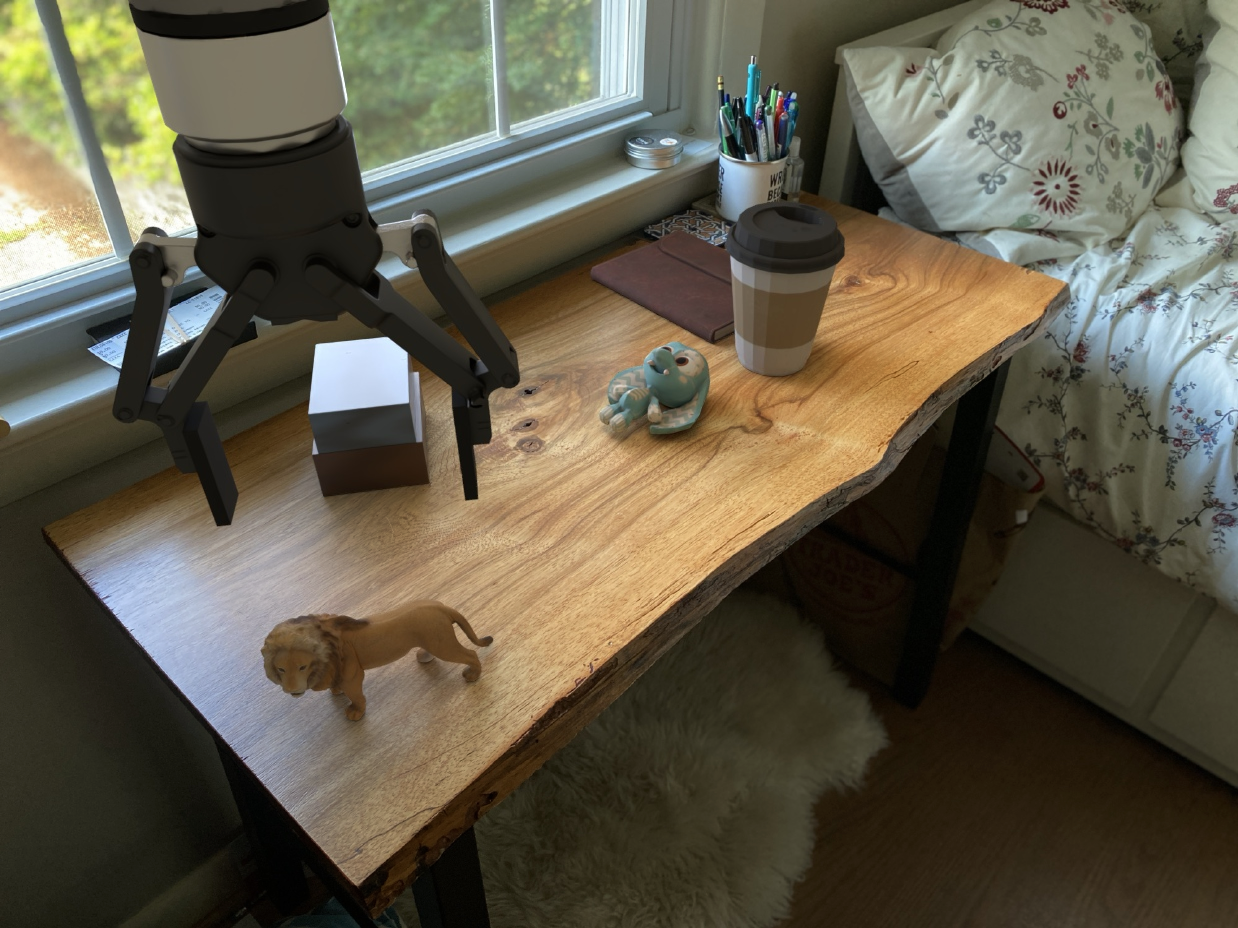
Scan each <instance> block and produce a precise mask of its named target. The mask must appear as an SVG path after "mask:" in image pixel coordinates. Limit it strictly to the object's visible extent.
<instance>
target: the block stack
mask: <svg viewBox="0 0 1238 928" xmlns="http://www.w3.org/2000/svg"><path fill="white" fill-rule="evenodd" d="M312 367H313V368H312V376H311V383H310V384H311V385H310V393H309V395H310V396H309V402H308V403H309V404H308V411H307V412H308V413H307V416H308V420H309V423H310V428H311V432H312V435H313V440H312V441H313V442H312V450H311V456H312V461H313V464H314V468H315V472H316V476H317V479H318V483H319V486H320V489H321V494H322V497H328V496H329V497H330V496H338V495H344V494H353V493H360V492H368V491H377V490H385V489H392V488H401V487H407V486H408V487H409V486H415V485H416V486H417V485H424V484H425V485H426V484H429V483H430V465H429V447H428V433H427V431H428V430H427V417H426V413H427V412H426V407H425V406H426V405H425V401H424V400H425V399H424V394H423V388H422V384H421V376H420V372H419V371H414V368H413V367H414V366H413V362H412V356H411V355H410V354H408V353H407V352H406V351H405V350H403V349H402V348H401V347H399V346H398V345H397V344H396V343H394V342H393V341H392V340H390V339H389V338H388V337H387V336H384V337H375V338H364V339H355V340H347V341H346V340H345V341H334V342H326V343H317V344H315V349H314V357H313V365H312Z"/></svg>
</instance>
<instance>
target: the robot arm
mask: <svg viewBox="0 0 1238 928" xmlns="http://www.w3.org/2000/svg"><path fill="white" fill-rule="evenodd" d="M127 1H128V7H129V12H130V14H131V18H132V23H133V24H134V26H135V30H136V33H137V36H138V40H139V43H140V47H141V50H142V53H143V57H144V60H145V64H146V67H147V71H148V73H149V78H150V80H151V84H152V87H153V90H154V94H155V97H156V101H157V104H158V108H159V111H160V115H161V118H162V121H163V123H164V126H166V127H167V128H168V129H170V130H171V131H172V132H174V133H175V134H176V137H175V139H174V141H173V143H172V147H171V150H172V153H173V155H174V159H175V163H176V165H177V166H176V167H177V169H178V172H179V176H180V179H181V182H182V185H183V189H184V192H185V196H186V198H187V202H188V205H189V209H190V212H191V215H192V218H193V221H194V225H195V226H196V237H183V236H181V237H180V236H169V235H168V233H167V232H166V231H165V230H164V229H163V228H161V227H158V226H153V225H152V226H147V227H146V228H144V229H143V230H142V232H141V234H140V236H139V237H138V238H137V240H136V243H135V244H134V246H133V248H132V249H131V251H130V253H129V254H128V255H129V256H128V264H129V268H130V272H131V277H132V282H133V285H134V289H135V294H136V296H135V300H134V305H133V309H132V314H131V318H130V323H129V328H128V334H127V337H126V342H125V348H124V353H123V358H122V362H121V366H120V370H119V371H120V372H119V376H118V381H117V385H116V391H115V395H114V400H113V403H112V410H111V413H112V416H113V418H114V419H115V420H117V421H118V422H120V423H122V424H133V423H135V422H136V421H138V420H141V421H144V422H145V421H147V422H151V423H153V424H155V425H156V426H157V427H158V428H160V429H161V431H162V433H163V436H164V439H165V441H166V444H167V446H168V449H169V451H170V454H171V456H172V458H173V462H174V464H175V467H176V468H177V469H178V470H179V471H180V472H181V473H182V474H183V475H184V474H186V475H187V474H197V477H198V479H199V482H200V486H201V487H202V491H203V493H204V496H205V499H206V501H207V504H208V507H209V509H210V512H211V514H212V517H213V521H214V523H215V525H216V527H227V526H232V524H233V519H234V516H235V515H234V514H235V511H236V507H237V503H238V500H239V495H240V493H239V490H238V488H237V484H236V481H235V479H234V475H233V473H232V470H231V466H230V464H229V460H228V458H227V455H226V452H225V449H224V446H223V443H222V440H221V437H220V434H219V432H218V428H217V426H216V422H215V420H214V417H213V413H212V411H211V408H210V405H209V402H208V400H202V401H201V400H200V401H197V399H198V398H199V396H200V395H201V393H202V392H203V390H204V389H205V387H206V386H207V384H208V383H209V381H210V380H211V378H212V376H213V375H214V374H215V372H216V370H217V369H218V368H219V366H220V364H221V363H222V361H223V360H224V358H225V357H226V355H227V354H228V353H229V351H230V349H231V348H232V346H233V344H234V343H235V342H236V340H237V341H238V339H239V338H240V337H241V335H243V332H244V331H245V329H246V328H247V326H248V325H249V323H250V322H251V320H252V319H253V317H254V316H255V317H256V318H259V319H261V320H264V321H268V322H270V325H271V326H272V327H273V326H288V325H291V324H294V323H298V322H300V321H303V320H305V321H306V320H307V321H312V322H320V323H325V322H336V321H338V320H339V316H342V315H344V314H346V313H348V314H350V315H351V316H352V317H353V318H355V320H358V322H360V323H361V324H362V325H364V327H367V328H369V329H371V330H372V329H376V330H377V331H379V332H380V333H381V334H382V335H384V337H388V338H389V339H390V340H392V341H393V342H394V343H396V344H397V345H398V346H399V347H401V348H402V349H403V350H405V351H406V352H407V353H408V354H410V355H411V358H413V359H415V360H416V361H417V362H419V363H420V364H421V365H422V366H424V368H426V369H428V370H429V371H430V372H432V374H433V375H435V376H436V377H438V379H440V380H442V381H443V382H444V383H446V385H448V386H449V387H450V388H451V392H450V393H451V410H452V418H453V425H454V432H455V439H456V444H457V445H456V446H457V452H458V454H457V455H458V460H459V467H460V474H461V482H462V488H463V495H464V501H466V502H468V501H476V500H479V486H478V485H479V484H478V471H477V463H476V462H477V461H476V454H475V447H474V446H481V445H490V443H491V440H492V438H493V431H492V417H491V411H490V402H489V401H490V400H489V399H490V396H491V394H492V393H493V392H494V391H496V390H498V389H500V388H504V389H507V390H508V389H513V388H514V389H515V388H516V387H517V386H518V385H519V383H520V382H521V374H520V373H521V372H520V365H519V357H518V353H517V350H516V348H515V347H514V345H513V344H512V342H511V341H510V340H509V338H508V337H507V336H506V334H505V332H503V330H502V329H501V327H500V326H499V324H498V323H497V321H496V319H494V317H493V316H492V315H491V313H490V311H489V310H488V308H487V307H486V305H485V304H484V303H483V301H482V300H481V299H480V297H479V296H478V295H477V293H476V292H475V290H474V289H473V287H472V286H471V285H470V283H469V282H468V280H467V279H466V277H465V276H464V275H463V273H462V272H461V270H460V269H459V267H458V265H457V264H456V263H455V262H454V260H453V258H452V257H451V256H450V254H449V253H448V252H447V250H446V249H445V244H444V241H443V237H442V233H441V229H440V226H439V222H438V217H437V215H436V213H435V212H434V211H433V210H431V209H429V208H425V207H421V208H418V209H416V210H415V211H414V212H413V213H412V216H411V219H407V220H406V219H405V220H400V221H395V222H389V223H383V224H379V223H378V222H377V221H376V220H375V219H374V217H373V216H372V215H371V212H370V210H369V208H368V205H367V198H366V195H365V189H364V184H363V178H362V172H361V167H360V162H359V156H358V151H357V146H356V145H357V144H356V140H355V134H354V129H353V125H352V123H350V121H349V120H348V119H346V118H345V116H344V115H342V113H343V112H344V110H345V109H346V108H347V104H348V94H347V90H346V84H345V79H344V73H343V68H342V64H341V58H340V53H339V47H338V42H337V38H336V31H335V25H334V21H333V16H332V11H331V7H330V2H329V1H330V0H127ZM384 253H391V254H393V255H396V256H397V257H398V259H399V260H400V262H401V263H402V264H403V265H404V266H405V267H406V268H408V269H410V270H415V269H418V271H419V274H420V277H421V279H422V281H423V282H424V284H425V286H426V287H427V290H428V291H429V292H430V294H431V295H432V296H433V297H434V299H435V300H436V302H437V303H438V304H439V306H440V307H441V308H442V310H443V311H444V313H446V315H447V316H448V318H449V319H450V321H451V322H452V323H453V324H454V326H455V327H456V329H457V330H458V331H459V332H460V334H461V335H462V337H463V338H464V339H465V341H466V342H467V343H468V345H469V346H470V347H471V349H472V350H473V351H474V353H475V354H476V355H477V356H476V355H475V354H473V353H472V352H471V351H470V350H469V349H468V348H466V347H465V346H463V344H462V343H460V342H459V341H458V340H457V339H455V338H454V337H453V336H451V335H450V334H449V333H448V332H447V331H445V330H444V329H443V328H441V326H440V325H438V324H437V323H436V322H435V321H433V320H432V319H431V318H429V316H427V315H426V314H425V313H423V312H422V311H421V310H420V309H419V308H418V307H416V306H415V305H414V304H413V303H411V302H410V301H409V300H407V298H405V297H404V296H403V295H401V294H400V293H399V292H398V291H397V290H396V289H395V288H394V287H393V285H392V283H391V282H390V281H389V279H388V278H386V276H384V274H382V273H381V272H379V271H378V270H377V269H376V268H377V266H378V265H379V263H380V262H381V260H382V258H383V254H384ZM192 267H197V268H198V269H199V271H200V272H201V273H202V274H203V275H205V276H206V277H207V278H208V279H210V280H211V281H212V282H213V283H214V284H215V285H217V286H218V287H219V288H221V289H222V290H223V291H224V292H225V293H224V295H223V297H222V299H221V301H220V303H219V304H218V305H217V307H216V308H215V311H214V312H213V314H212V315H211V317H210V319H209V320H208V322H207V323H206V325H205V326H204V327H203V329H202V331H201V332H200V334H199V336H198V337H197V339H196V340H195V342H194V344H193V345H192V347H190V350H189V352H188V353H187V355H186V356H185V358H184V360H183V361H182V362H181V364H180V365H179V367H178V368H177V370H176V372H175V373H174V375H173V377H172V378H171V379H170V380H169V381H167V384H166V387H161V386H154V385H152V381H153V379H154V375H155V374H154V373H155V369H156V366H157V361H158V357H159V354H160V349H161V344H162V341H163V340H162V339H163V336H164V331H165V327H166V322H167V319H168V314H169V310H170V306H171V301H172V296H173V293H174V288H175V287H178V286H180V285H181V284H182V283H183V282H184V281H185V278H186V276H187V274H188V271H189V269H190V268H192Z"/></svg>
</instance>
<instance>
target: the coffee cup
mask: <svg viewBox="0 0 1238 928" xmlns="http://www.w3.org/2000/svg"><path fill="white" fill-rule="evenodd" d="M845 243H846V239H845V236H844V235H843V233H842V231H840V229H839V228H838V222H837V220H836V218H835V216H833V215H832V214H830V213H829V212H827V211H826V210H825V209H822V208H819V207H817V206H815V205H812V204H807V203H803V202H796V201H768V202H764V203H763V202H762V203H757V204H755V205H752V206H750V207H747V208H745V209H744V210H743V211H742V212H741V213H740V214H739V215H738V219H737V221H735V223H733V224H732V225H730V227H729V228H728V231H727V235H726V239H725V243H724V248H725V250H727V252H728V254H729V255H730V257H731V274H732V291H733V309H734V326H735V333H734V342H735V351H736V353H737V358H738V361H739V363H740V364H741V365H742V366H743V367H744V368H745V369H746V370H748V371H750V372H752V373H755V374H759V375H761V376H766V377H767V376H768V377H785V376H791V375H794V374H796V373H798V372H799V371H801V370H803V368H804V367H805V366H806V365H807V360H808V359H809V358H810V356H811V353H812V350H813V345H814V342H815V339H816V336H817V332H818V328H819V326H820V322H821V319H822V315H823V311H824V308H825V306H826V303H827V299H828V295H829V292H830V287H831V285H832V281H833V278H834V275H835V271H836V267H837V265H838V264H839V263H840V262H841V261H842V260H843V259H844V258H845V255H846V247H845V245H846V244H845Z"/></svg>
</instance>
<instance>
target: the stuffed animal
mask: <svg viewBox="0 0 1238 928" xmlns="http://www.w3.org/2000/svg"><path fill="white" fill-rule="evenodd" d="M710 376H711V375H710V367H709V363H708V360H707V359H706V357H705V356H704V355H703V354H702V353H700V351H698V350H696V349H695V348H692V347H690V346H688V345H686V344H684V343H682V342H680V341H673V340H672V341H670V342H668V343H667V344H664V345H661V346H658V347H655V348H653V349H652V350H651V351H650V352H649V353H648V354H647V355H646V356H645V358H644V359H643V364H641V365H637V366H631V367H628V368H626V369H623V370H621V371H619V372H617V373H616V374H615V375H614V377H612V379H611V380H610V381H609V383H608V388H607V391H606V395H607V399H608V403H609V404H607V405H606V406H604V407H603V408H601V409H600V410H599V412H598V418H599V420H600V422H601V423H602V424H604V425H606V426H610V429H611V430H612V431H613V432H615V433H619V434H620V433H621V432H624V431H625V430H626V429H627V428H628V427H629V426H630V424H631V423H632V421H633V420H638V419H642V418H643V417H645V416H646V415H647V419H648V420H649V422H650V423H651V424H650V426H649V433H650V434H651V435H671V434H674V433H679V432H681V431H685V430H686V431H687V430H689V429H691V428H692V427H693V426H694V424H695V423H696V422H697V421H698V419H699V418H700V414H701V412H702V408H703V406H704V404H705V402H706V400H707V397H708V395H709V393H710V387H711V377H710ZM660 404H661V405H663V406H666V407H668V408H671V409H667V410H664V411H663V412H662V410H661V406H660Z"/></svg>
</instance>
